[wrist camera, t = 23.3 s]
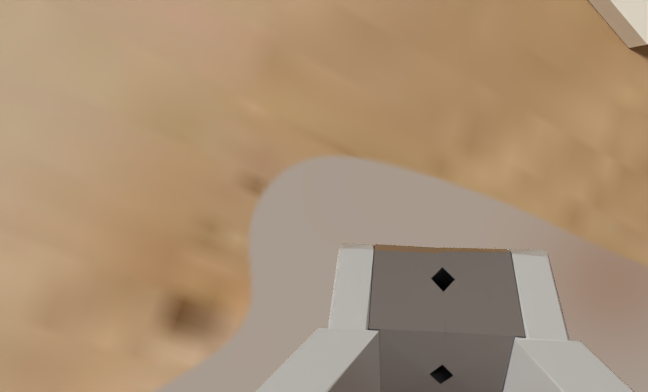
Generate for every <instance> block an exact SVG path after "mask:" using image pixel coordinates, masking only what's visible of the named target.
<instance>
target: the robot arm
mask: <svg viewBox="0 0 648 392" xmlns="http://www.w3.org/2000/svg"><path fill="white" fill-rule="evenodd" d="M256 392H634V391H633V390H631V389H630V388H629V387H628V386H627V385H626V384H625V383H624V382H623V381H622V380H621V379H620V378H619V377H618V376H617V375H616V374H615V373H614V372H612V370H611V369H610V368H608V367H607V366H606V365H605V364H604V363H603V362H602V361H601V360H600V359H599V358H598V357H597V356H596V355H595V354H594V353H593V352H592V351H591V350H590V349H589V348H587V347H586V346H585V345H584V344H583V343H582V342H581V341H571V340H569V336H568V332H567V328H566V324H565V320H564V316H563V312H562V308H561V304H560V300H559V296H558V292H557V288H556V284H555V280H554V276H553V272H552V268H551V264H550V260H549V256H548V254H547V253H546V252H545V250H529V249H509V250H507V249H478V248H431V247H414V246H396V245H377V244H376V245H364V244H348V243H342V244H341V246H340V249H339V252H338V260H337V267H336V275H335V281H334V288H333V296H332V302H331V309H330V317H329V324H328V328H317V329H316V330H315V331H314V332H313V333H312V334H311V335H310V336H309V337H308V338H307V339H306V340H305V341H304V343H302V344H301V345H300V347H299V348H298V349H297V350H296V351H295V352H294V353H293V354H292V355H291V356H290V357H289V358H288V359H287V360H286V361H285V362H284V363H283V364H282V365H281V366H280V367H279V368H278V369H277V370H276V371H275V372H274V373H273V374H272V375H271V376H270V377H269V378H268V379H267V380H266V381H265V382H264V383H263V384H262V385H261V386H260V387H259V388H258V390H257V391H256Z"/></svg>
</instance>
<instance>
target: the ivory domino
mask: <svg viewBox="0 0 648 392" xmlns="http://www.w3.org/2000/svg"><path fill="white" fill-rule="evenodd" d="M589 2H590V3H591V4H592V5H593V6H594V8H595V9H596V10H597V11H598V12H599V14H600V15H601V16H602V17H603V18H604V19H605V21H606V22H607V23H608V24H609V25H610V27H611V28H612V29H613V30H614V31H615V32H616V34H617V35H618V36H619V37H620V38H621V40H622V41H623V42H624V43H625V44H626V46H627V47H628V48H632V47H637V46H642V45H647V44H648V0H589Z"/></svg>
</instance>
